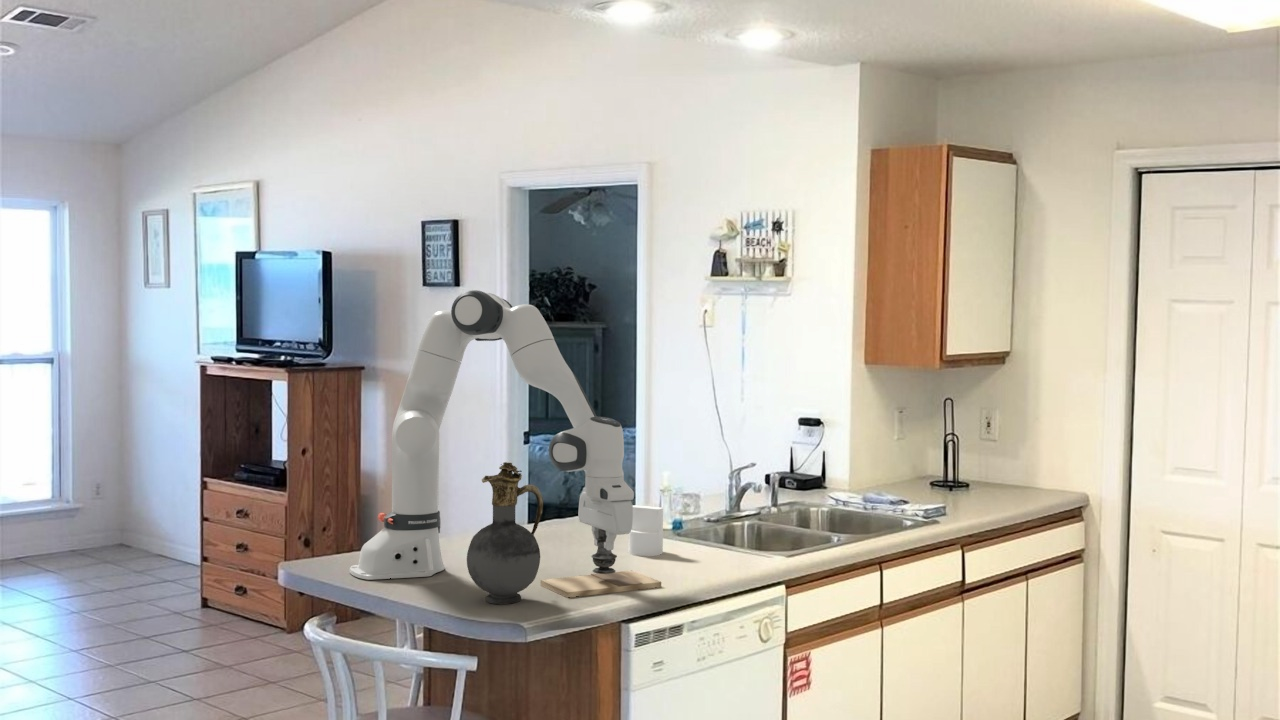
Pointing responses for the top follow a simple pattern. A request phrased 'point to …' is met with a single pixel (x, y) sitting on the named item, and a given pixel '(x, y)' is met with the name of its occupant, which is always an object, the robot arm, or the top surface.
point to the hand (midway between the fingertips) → (603, 547)
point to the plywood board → (600, 583)
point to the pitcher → (505, 542)
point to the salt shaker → (603, 556)
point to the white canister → (646, 531)
